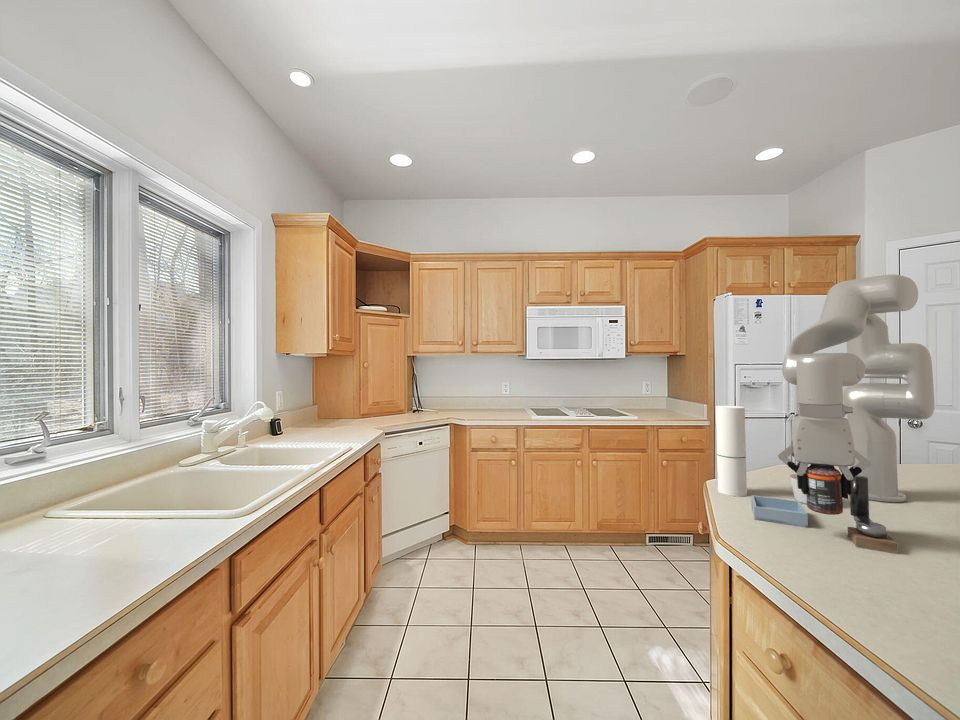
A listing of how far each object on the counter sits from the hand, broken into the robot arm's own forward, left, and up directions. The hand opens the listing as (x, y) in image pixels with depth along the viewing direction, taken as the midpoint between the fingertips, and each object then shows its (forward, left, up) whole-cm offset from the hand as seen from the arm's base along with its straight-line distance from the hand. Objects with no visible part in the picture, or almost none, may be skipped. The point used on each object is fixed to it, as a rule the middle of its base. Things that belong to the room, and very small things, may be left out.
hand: (823, 493), depth 85 cm
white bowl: (-26, +2, -9) cm, 27 cm away
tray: (-9, -7, -9) cm, 15 cm away
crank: (-3, +7, -7) cm, 10 cm away
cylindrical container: (-25, -16, -9) cm, 31 cm away
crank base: (+1, +7, -9) cm, 12 cm away
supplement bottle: (0, 0, -4) cm, 4 cm away
